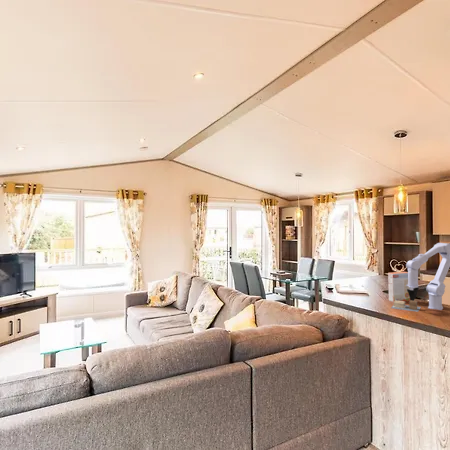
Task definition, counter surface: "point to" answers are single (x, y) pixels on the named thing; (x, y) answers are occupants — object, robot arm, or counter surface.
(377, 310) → the counter surface
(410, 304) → the walnut block
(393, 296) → the cracker box
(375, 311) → the counter surface
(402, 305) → the beech slab
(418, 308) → the building mat
